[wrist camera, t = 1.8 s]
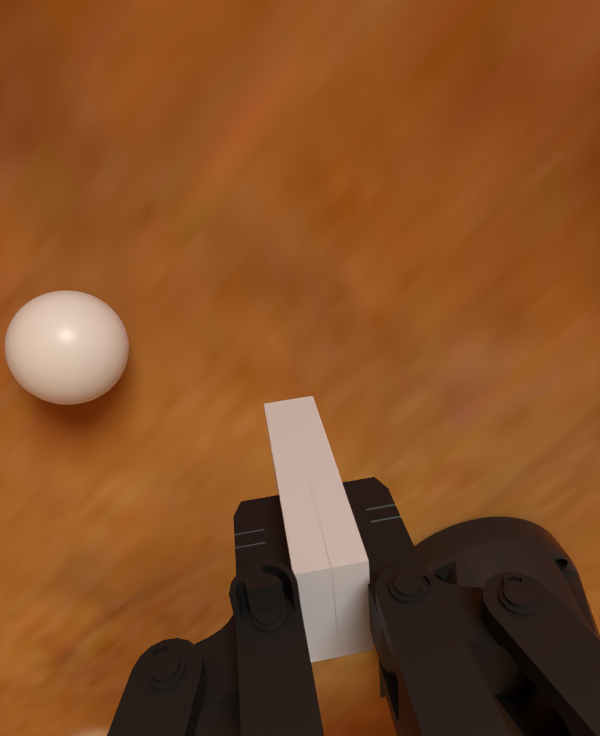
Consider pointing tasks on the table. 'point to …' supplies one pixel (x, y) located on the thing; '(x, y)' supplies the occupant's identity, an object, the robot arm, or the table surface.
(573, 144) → the table surface
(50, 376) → the cue ball
